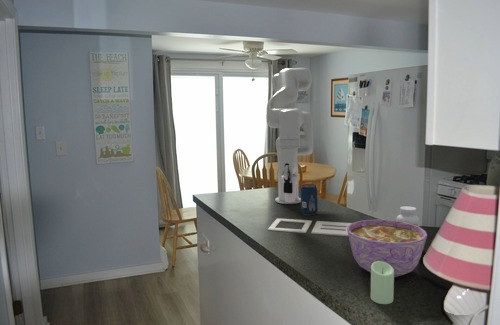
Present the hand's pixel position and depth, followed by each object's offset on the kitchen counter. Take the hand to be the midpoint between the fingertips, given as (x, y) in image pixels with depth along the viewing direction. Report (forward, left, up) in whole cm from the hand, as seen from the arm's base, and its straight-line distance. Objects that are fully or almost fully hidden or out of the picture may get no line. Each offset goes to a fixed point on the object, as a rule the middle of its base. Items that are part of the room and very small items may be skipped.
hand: (290, 190), depth 145 cm
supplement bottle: (+15, +40, -14) cm, 45 cm away
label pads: (+1, +8, -14) cm, 16 cm away
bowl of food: (+35, +33, -14) cm, 50 cm away
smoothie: (0, 0, -4) cm, 4 cm away
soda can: (-18, +4, -14) cm, 23 cm away
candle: (+51, +32, -14) cm, 62 cm away
